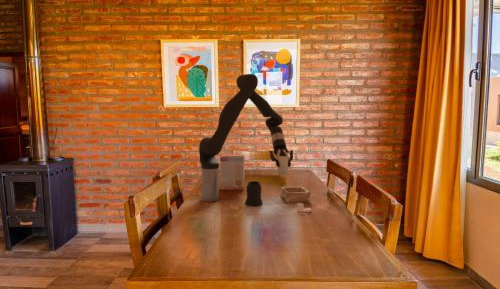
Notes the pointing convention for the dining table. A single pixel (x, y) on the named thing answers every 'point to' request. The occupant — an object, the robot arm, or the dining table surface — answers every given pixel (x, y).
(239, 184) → the cracker box
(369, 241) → the dining table surface
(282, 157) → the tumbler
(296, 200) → the crate
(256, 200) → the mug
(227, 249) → the dining table surface
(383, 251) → the dining table surface
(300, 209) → the teacup and saucer
